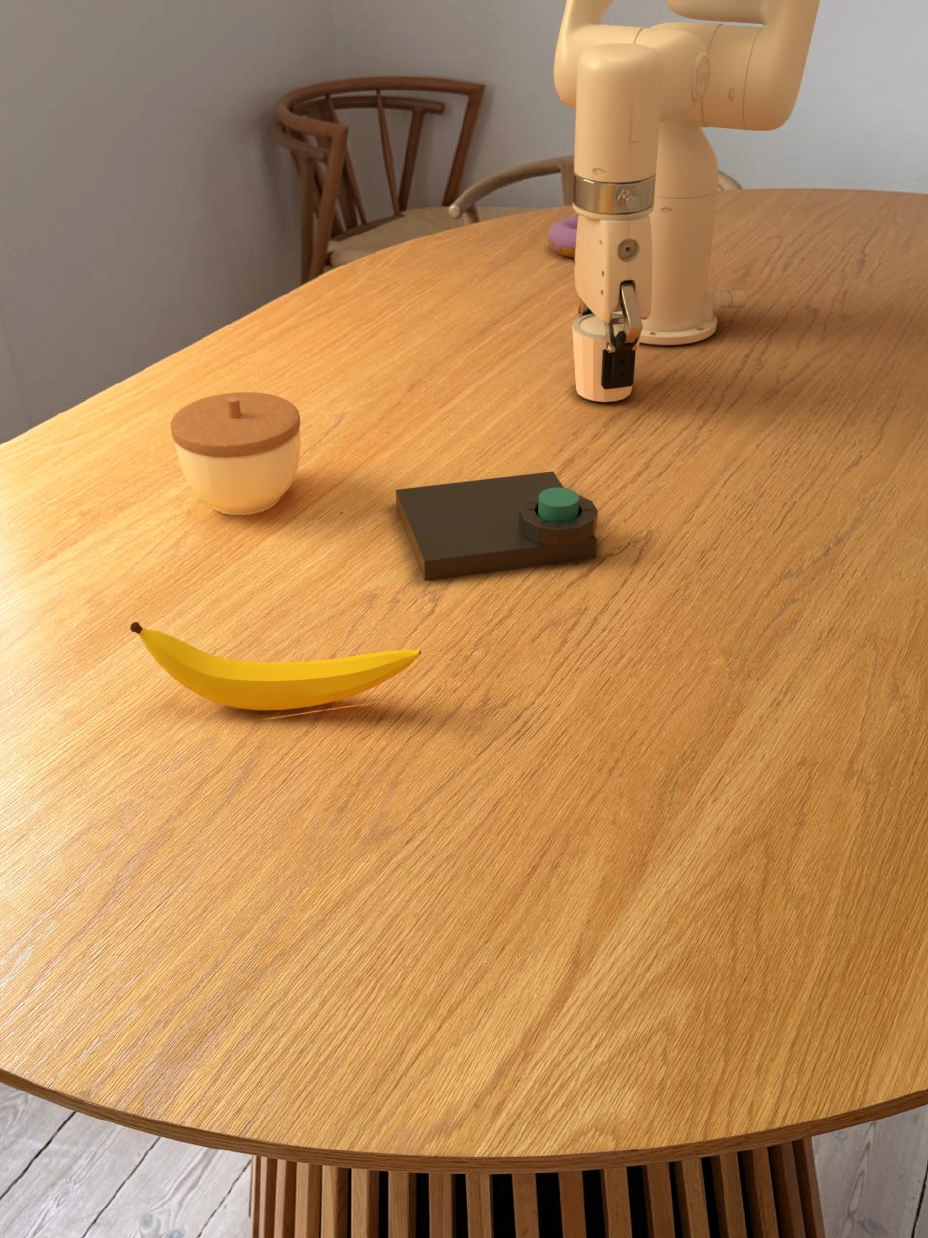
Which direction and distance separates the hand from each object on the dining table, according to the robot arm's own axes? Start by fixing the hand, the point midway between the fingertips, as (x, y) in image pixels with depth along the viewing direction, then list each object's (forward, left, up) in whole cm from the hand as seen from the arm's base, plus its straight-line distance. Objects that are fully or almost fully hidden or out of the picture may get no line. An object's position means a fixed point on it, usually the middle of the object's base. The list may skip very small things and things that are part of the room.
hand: (604, 369), depth 123 cm
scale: (+18, +25, -3) cm, 31 cm away
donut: (-12, -45, -3) cm, 47 cm away
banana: (+38, +44, -3) cm, 58 cm away
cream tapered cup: (0, 0, -2) cm, 2 cm away
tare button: (+14, +28, +1) cm, 31 cm away
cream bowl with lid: (+38, +14, -3) cm, 40 cm away
